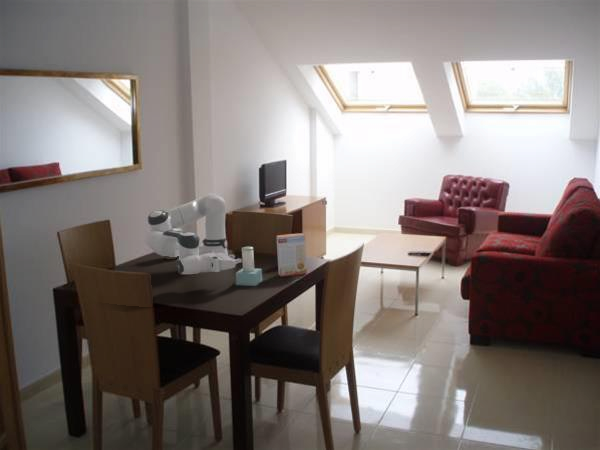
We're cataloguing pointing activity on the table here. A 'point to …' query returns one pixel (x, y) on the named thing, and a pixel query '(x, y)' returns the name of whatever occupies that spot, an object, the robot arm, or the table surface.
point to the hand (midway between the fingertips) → (237, 258)
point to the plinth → (249, 277)
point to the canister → (248, 259)
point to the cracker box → (291, 254)
